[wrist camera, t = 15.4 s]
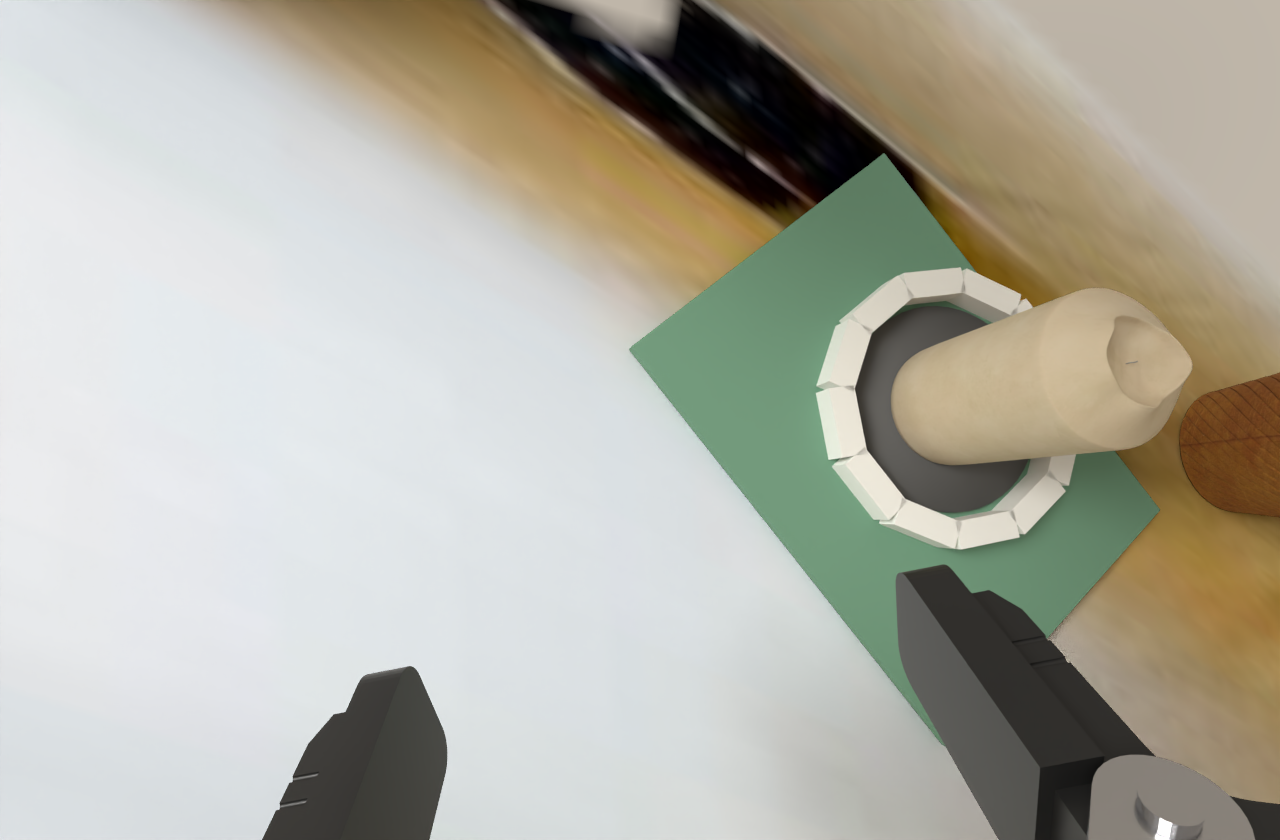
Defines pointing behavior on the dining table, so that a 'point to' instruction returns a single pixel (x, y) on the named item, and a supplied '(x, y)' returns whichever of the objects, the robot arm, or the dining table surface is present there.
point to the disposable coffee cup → (1236, 446)
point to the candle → (1043, 383)
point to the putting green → (879, 420)
